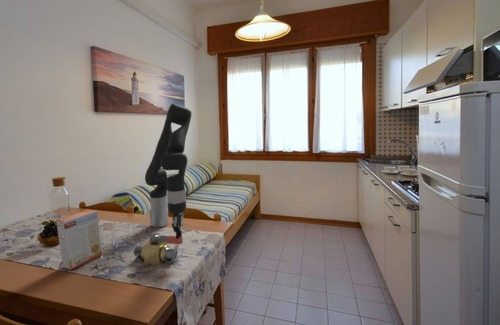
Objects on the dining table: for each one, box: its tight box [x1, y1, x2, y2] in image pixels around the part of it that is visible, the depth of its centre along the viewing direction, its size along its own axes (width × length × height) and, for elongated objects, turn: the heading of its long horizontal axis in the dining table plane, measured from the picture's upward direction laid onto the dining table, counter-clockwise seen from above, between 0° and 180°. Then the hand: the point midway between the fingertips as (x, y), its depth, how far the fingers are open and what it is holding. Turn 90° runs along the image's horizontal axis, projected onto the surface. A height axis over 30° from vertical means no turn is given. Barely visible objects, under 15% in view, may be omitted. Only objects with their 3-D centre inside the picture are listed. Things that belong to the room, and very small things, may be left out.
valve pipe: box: [133, 239, 178, 265], centre depth 114 cm, size 18×7×8 cm, turn 80°
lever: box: [149, 233, 183, 245], centre depth 112 cm, size 14×4×2 cm, turn 77°
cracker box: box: [56, 209, 103, 271], centre depth 113 cm, size 14×6×21 cm, turn 153°
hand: (179, 238), depth 114 cm, fingers closed
